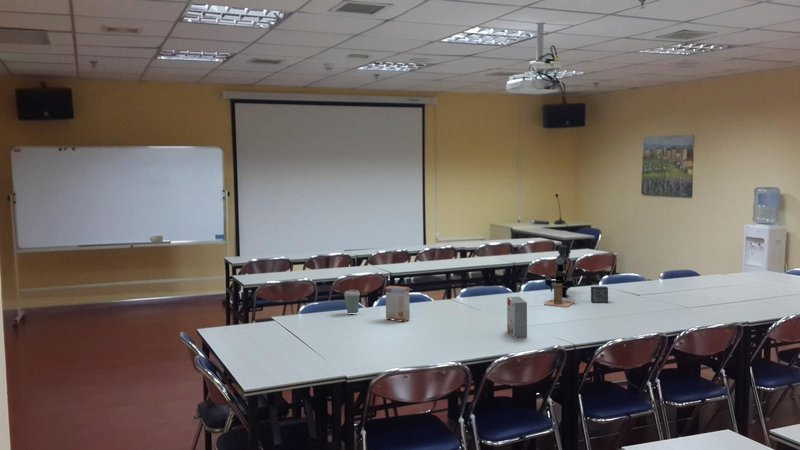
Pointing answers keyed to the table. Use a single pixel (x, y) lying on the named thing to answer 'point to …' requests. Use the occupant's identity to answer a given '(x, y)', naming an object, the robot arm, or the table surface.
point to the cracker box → (397, 303)
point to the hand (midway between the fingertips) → (558, 292)
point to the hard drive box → (517, 316)
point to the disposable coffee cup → (352, 300)
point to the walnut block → (557, 293)
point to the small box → (599, 294)
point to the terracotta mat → (564, 304)
